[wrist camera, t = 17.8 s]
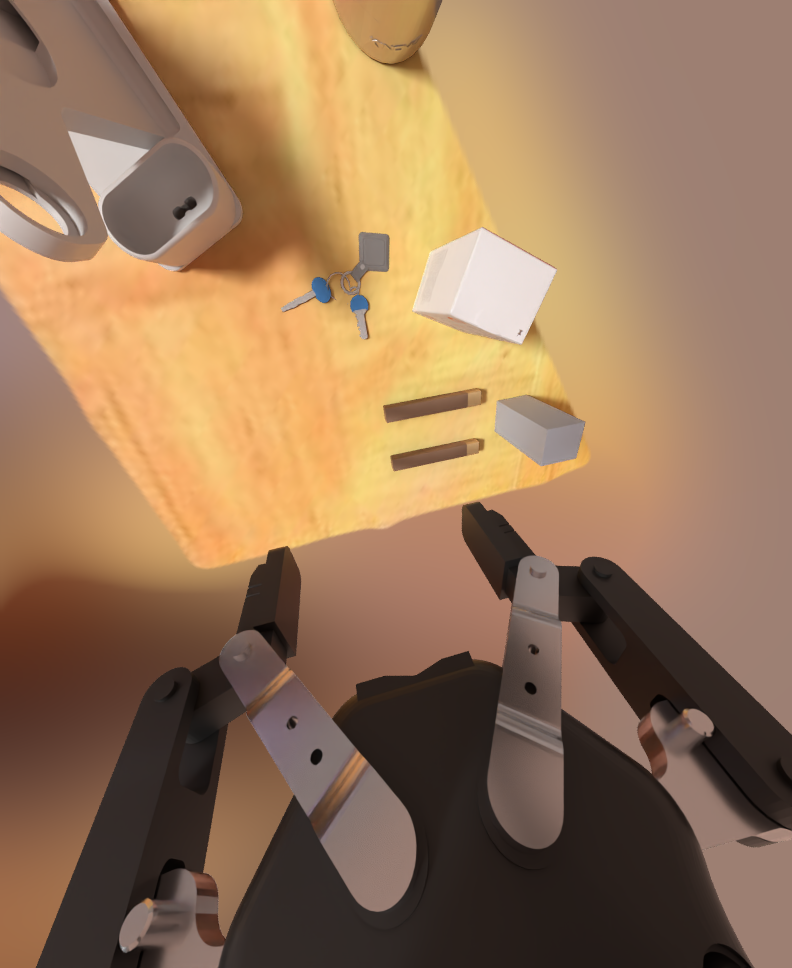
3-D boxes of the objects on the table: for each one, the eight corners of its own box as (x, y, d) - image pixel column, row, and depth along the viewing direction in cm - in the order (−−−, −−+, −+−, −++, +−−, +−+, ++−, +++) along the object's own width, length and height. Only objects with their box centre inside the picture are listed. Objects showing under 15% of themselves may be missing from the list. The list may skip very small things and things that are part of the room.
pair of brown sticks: (383, 405, 41) (385, 409, 40) (476, 388, 43) (481, 390, 41) (392, 466, 46) (393, 471, 45) (474, 449, 48) (478, 453, 47)
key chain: (377, 217, 31) (378, 215, 30) (418, 293, 35) (420, 293, 34) (280, 307, 33) (279, 307, 32) (330, 368, 37) (330, 369, 37)
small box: (488, 278, 35) (560, 268, 25) (466, 333, 38) (522, 347, 28) (429, 249, 33) (482, 224, 22) (410, 311, 36) (448, 316, 25)
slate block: (496, 400, 44) (547, 429, 34) (527, 394, 45) (585, 421, 35) (494, 431, 47) (540, 466, 37) (523, 425, 48) (576, 458, 38)
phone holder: (252, 219, 29) (177, 133, 14) (174, 282, 30) (27, 265, 15) (47, -94, 19) (-950, -1525, 4) (-56, 17, 20) (-1124, -781, 5)
